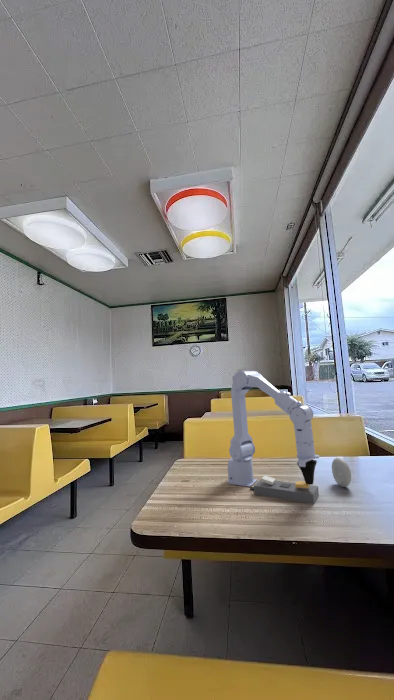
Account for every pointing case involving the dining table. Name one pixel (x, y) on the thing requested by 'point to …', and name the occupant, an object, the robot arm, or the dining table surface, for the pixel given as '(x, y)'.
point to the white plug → (268, 480)
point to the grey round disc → (341, 472)
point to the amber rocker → (301, 484)
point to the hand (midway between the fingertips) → (309, 483)
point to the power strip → (286, 491)
